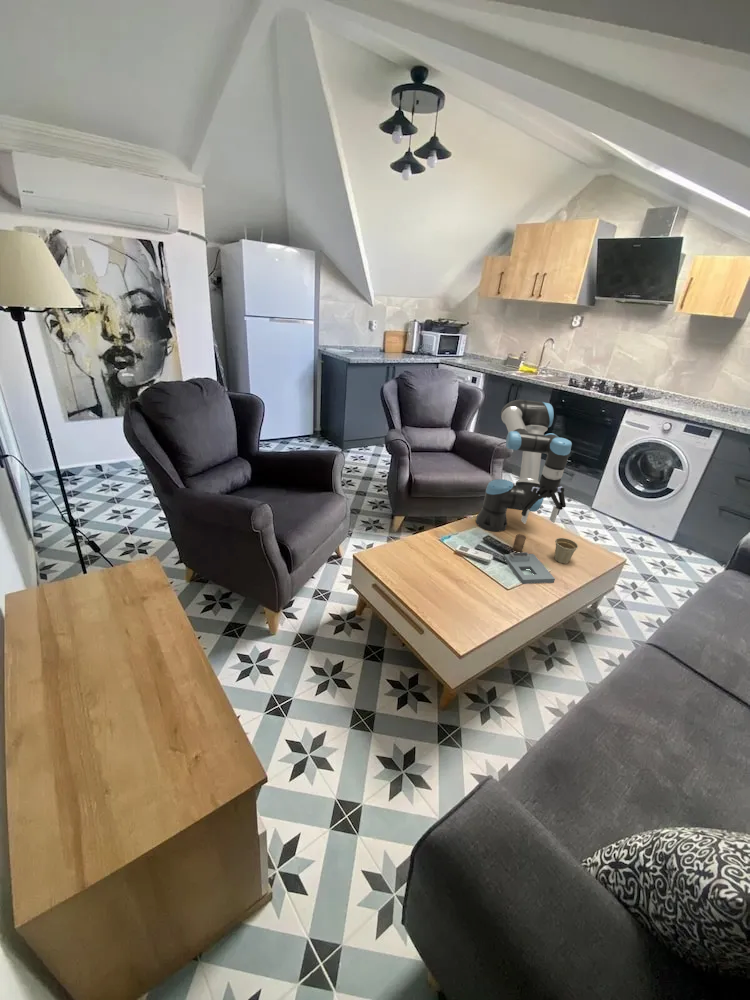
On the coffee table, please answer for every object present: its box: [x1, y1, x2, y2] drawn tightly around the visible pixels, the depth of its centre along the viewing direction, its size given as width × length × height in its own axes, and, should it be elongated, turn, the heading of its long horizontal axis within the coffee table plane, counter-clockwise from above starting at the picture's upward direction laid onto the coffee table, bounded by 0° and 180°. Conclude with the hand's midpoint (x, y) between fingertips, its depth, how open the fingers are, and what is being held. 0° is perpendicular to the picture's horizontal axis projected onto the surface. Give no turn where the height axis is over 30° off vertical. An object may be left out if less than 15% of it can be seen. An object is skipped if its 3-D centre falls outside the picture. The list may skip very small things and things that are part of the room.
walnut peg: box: [511, 533, 527, 552], centre depth 187 cm, size 4×4×8 cm
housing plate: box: [503, 553, 556, 585], centre depth 175 cm, size 18×14×2 cm
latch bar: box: [509, 551, 530, 562], centre depth 178 cm, size 3×8×3 cm, turn 99°
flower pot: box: [554, 537, 579, 564], centre depth 184 cm, size 9×9×9 cm
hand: (537, 521), depth 177 cm, fingers open, 13 cm apart
